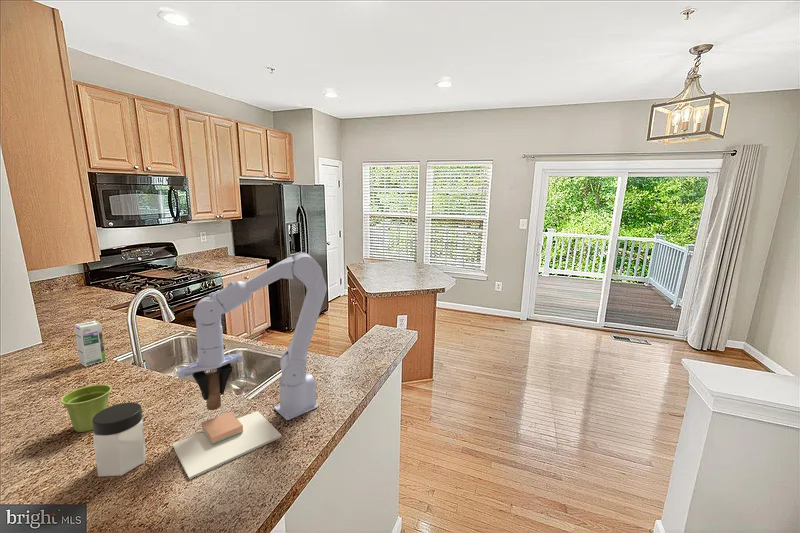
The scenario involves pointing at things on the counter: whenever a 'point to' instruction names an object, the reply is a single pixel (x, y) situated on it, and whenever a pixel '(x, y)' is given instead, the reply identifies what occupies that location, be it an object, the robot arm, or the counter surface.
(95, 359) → the syrup box
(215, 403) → the pestle
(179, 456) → the board
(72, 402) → the plant pot
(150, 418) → the counter surface
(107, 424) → the jar
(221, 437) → the tile
